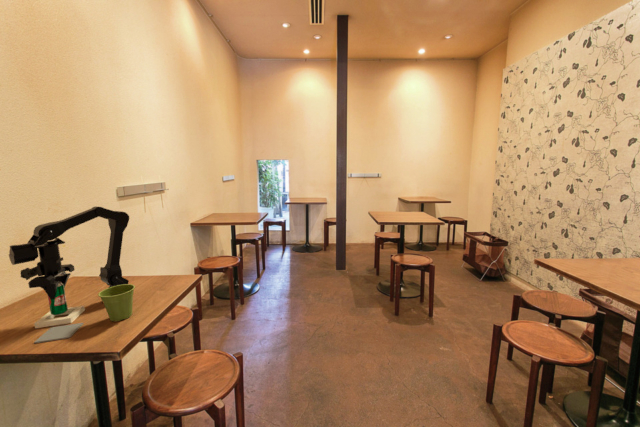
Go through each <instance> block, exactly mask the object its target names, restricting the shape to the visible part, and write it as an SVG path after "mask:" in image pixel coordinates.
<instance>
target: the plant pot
mask: <svg viewBox="0 0 640 427" xmlns="http://www.w3.org/2000/svg"><path fill="white" fill-rule="evenodd" d="M135 288H136V286H135V284H132V283H131V284H130V283H128V284H123V285H117V286H113V287H110V288H108V287H107V288H105V289H102V290H101V291H99V292H98V294H97V296H98V298H99V297H100V299H101V300H100V301H102V302H103V304H104V308H105V311H106V313H107V315H108V318H109V320H110V321H111V322H120V321H122V320H127V319H129V318H130V317H131V316H132V315H133V299H134V298H133V297H134V290H135Z"/></svg>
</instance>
